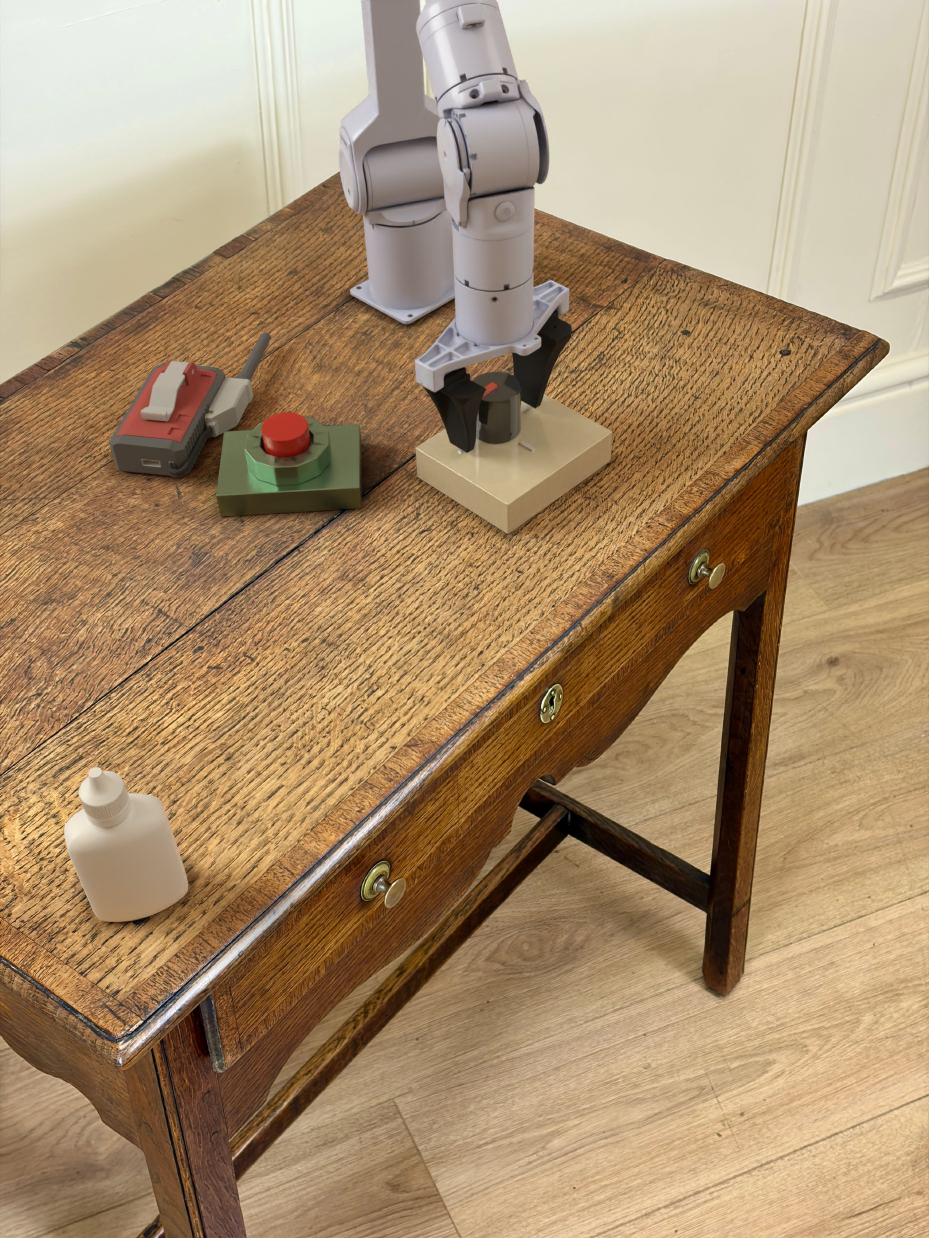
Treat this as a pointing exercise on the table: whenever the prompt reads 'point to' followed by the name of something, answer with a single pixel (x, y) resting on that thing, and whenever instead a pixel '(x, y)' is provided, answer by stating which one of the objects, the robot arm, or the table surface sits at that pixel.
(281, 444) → the button
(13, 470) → the table surface
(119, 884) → the eye dropper bottle
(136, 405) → the walkie-talkie
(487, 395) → the dial
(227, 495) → the housing
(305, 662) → the table surface
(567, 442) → the panel
